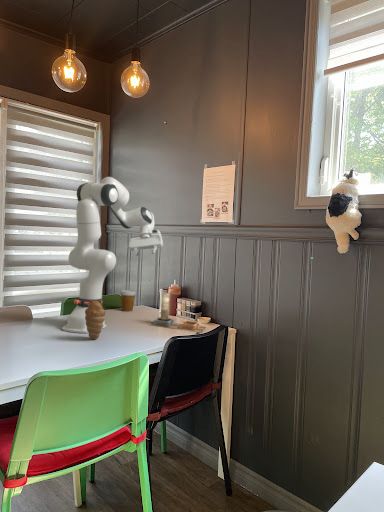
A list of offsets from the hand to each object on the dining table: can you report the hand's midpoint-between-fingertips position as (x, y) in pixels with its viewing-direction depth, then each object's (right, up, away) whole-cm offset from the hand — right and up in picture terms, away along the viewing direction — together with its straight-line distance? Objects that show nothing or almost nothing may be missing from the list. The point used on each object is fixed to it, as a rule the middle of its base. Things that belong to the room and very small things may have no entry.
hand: (145, 254), depth 220 cm
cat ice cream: (-17, -38, -49) cm, 64 cm away
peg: (+12, -37, -19) cm, 43 cm away
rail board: (+19, -39, -21) cm, 48 cm away
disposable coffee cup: (-13, -35, +15) cm, 40 cm away
